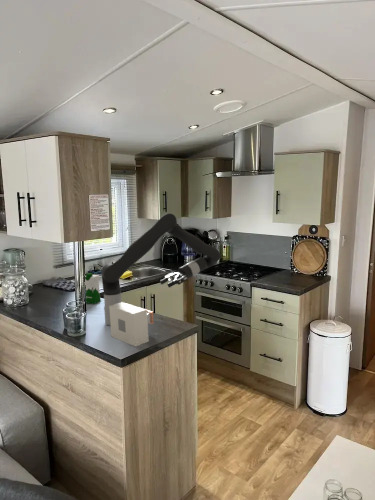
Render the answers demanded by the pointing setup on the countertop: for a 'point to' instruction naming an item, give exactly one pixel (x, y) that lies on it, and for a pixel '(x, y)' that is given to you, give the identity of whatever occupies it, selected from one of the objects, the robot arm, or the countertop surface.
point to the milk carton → (92, 288)
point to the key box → (129, 323)
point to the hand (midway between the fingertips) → (164, 284)
